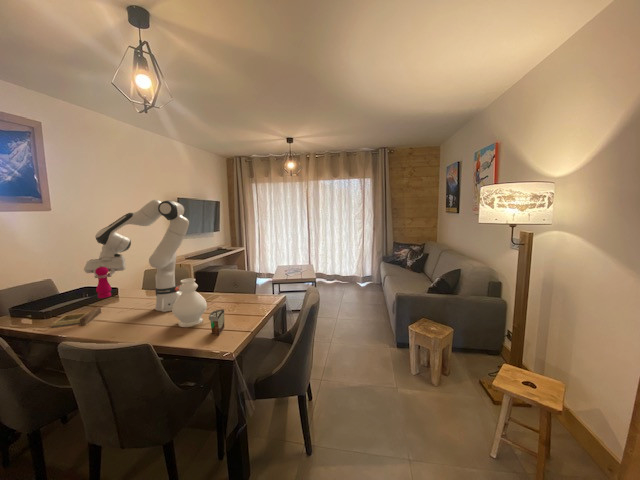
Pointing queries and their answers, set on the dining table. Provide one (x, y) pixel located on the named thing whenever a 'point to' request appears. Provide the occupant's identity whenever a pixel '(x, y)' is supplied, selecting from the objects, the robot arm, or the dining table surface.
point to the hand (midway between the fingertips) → (102, 276)
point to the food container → (217, 321)
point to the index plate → (68, 320)
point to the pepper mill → (103, 282)
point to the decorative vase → (189, 304)
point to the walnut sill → (90, 316)
